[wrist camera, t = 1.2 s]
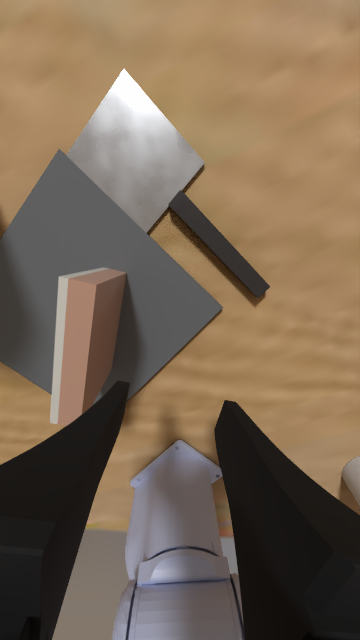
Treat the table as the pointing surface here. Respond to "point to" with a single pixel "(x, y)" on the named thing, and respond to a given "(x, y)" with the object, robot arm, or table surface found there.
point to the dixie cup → (353, 477)
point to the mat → (82, 255)
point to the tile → (84, 339)
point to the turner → (149, 169)
